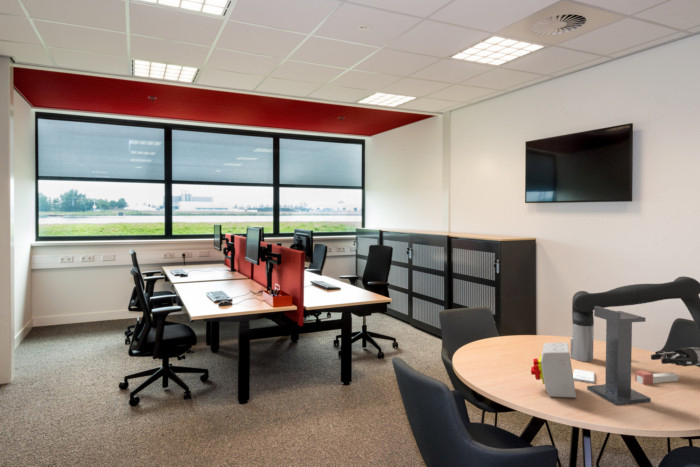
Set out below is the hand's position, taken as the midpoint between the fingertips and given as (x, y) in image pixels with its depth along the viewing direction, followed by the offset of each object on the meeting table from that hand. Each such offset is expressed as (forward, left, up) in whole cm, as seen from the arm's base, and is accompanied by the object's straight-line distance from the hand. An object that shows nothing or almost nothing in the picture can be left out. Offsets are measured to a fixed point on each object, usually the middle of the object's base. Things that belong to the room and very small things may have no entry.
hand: (657, 359), depth 184 cm
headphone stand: (-6, -29, -9) cm, 31 cm away
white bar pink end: (0, +1, -10) cm, 10 cm away
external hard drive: (-22, -18, -10) cm, 30 cm away
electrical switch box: (-25, -43, -10) cm, 50 cm away
